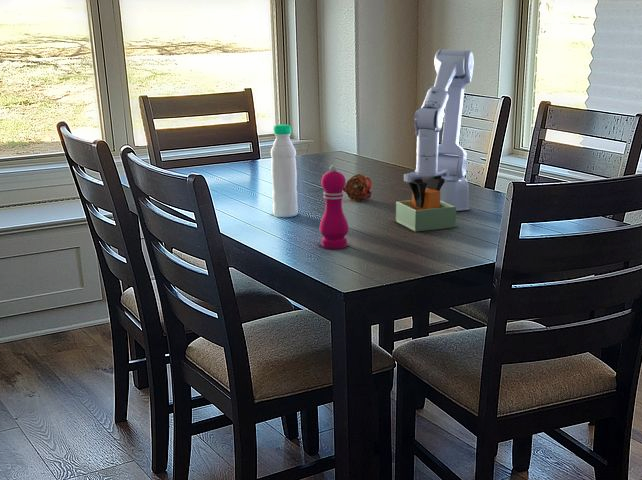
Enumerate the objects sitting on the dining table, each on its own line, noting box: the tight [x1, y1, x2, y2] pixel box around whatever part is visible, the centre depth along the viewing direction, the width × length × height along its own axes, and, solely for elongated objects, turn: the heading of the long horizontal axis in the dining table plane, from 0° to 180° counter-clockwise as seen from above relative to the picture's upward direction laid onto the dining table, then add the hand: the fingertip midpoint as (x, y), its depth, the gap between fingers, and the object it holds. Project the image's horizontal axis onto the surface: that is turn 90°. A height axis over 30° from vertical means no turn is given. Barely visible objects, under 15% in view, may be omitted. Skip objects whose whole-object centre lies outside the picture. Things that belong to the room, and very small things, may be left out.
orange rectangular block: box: [411, 187, 440, 210], centre depth 231 cm, size 4×7×6 cm, turn 38°
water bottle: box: [270, 123, 299, 218], centre depth 238 cm, size 7×7×25 cm
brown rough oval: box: [342, 173, 373, 202], centre depth 261 cm, size 8×8×12 cm
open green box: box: [395, 199, 457, 232], centre depth 232 cm, size 12×12×6 cm
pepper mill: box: [319, 164, 350, 250], centre depth 209 cm, size 7×7×20 cm
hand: (425, 205), depth 231 cm, fingers closed on orange rectangular block, 4 cm apart
